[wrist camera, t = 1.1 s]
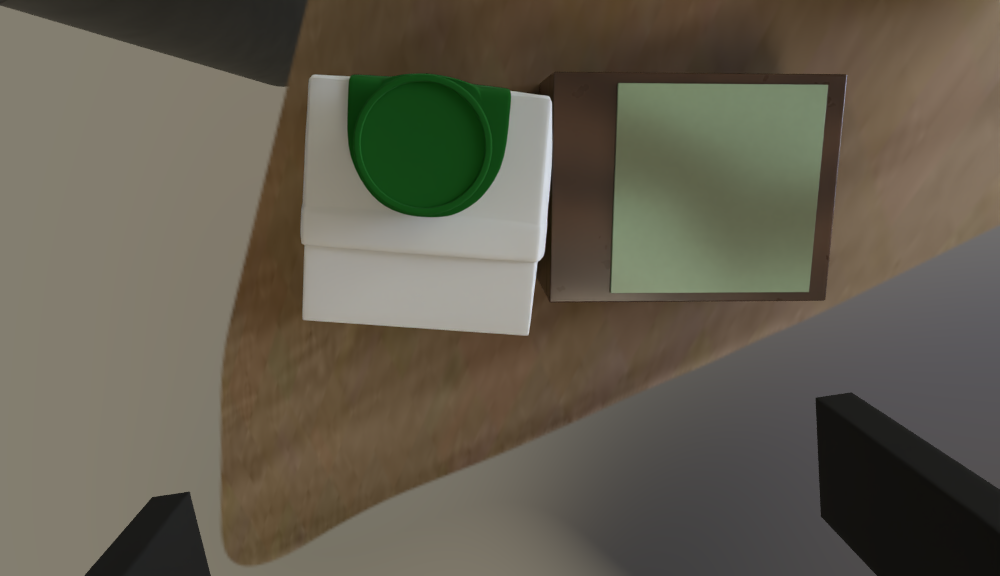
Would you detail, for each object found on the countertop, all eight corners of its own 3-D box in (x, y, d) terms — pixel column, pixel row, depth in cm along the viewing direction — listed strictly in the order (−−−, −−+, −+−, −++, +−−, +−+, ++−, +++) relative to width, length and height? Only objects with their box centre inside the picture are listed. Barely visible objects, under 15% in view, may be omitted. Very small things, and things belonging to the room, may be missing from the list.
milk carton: (525, 108, 40) (585, 73, 20) (511, 267, 41) (552, 379, 22) (367, 93, 39) (268, 44, 20) (359, 256, 41) (262, 360, 21)
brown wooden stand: (539, 83, 39) (554, 71, 33) (787, 85, 40) (850, 73, 34) (536, 278, 42) (549, 303, 35) (771, 277, 42) (827, 301, 36)
